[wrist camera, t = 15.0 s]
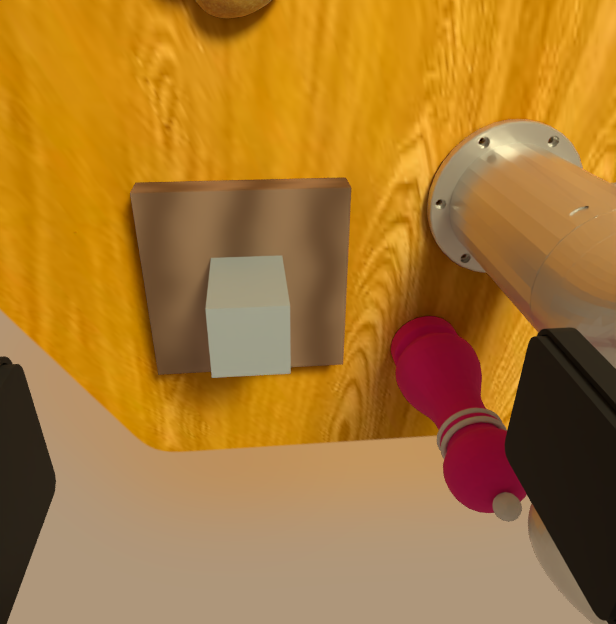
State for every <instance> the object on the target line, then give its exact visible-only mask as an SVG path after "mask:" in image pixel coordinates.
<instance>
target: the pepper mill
mask: <svg viewBox="0 0 616 624" xmlns="http://www.w3.org/2000/svg"><path fill="white" fill-rule="evenodd" d="M391 354H392V358H393V360H394V362H395V365H396V381H397V384H398V386H399V388H400V390H401V392H402V394H403V395H404V397H405V398H406V400H407V401H408V402H409V403H410V404H411V405H412V406H413V407H414V408H416V409H417V410H418V411H420V412H421V413H423V414H424V415H426V416H427V417H429V418H430V419H431V420H432V421H433V422H434V423H435V424H436V426H437V428H438V429H439V432H438V435H437V445H438V447H439V449H440V451H441V454H442V456H443V458H444V463H443V473H444V478H445V481H446V483H447V485H448V488H449V489H450V491H451V492H452V494H453V495H454V496H455V497H456V499H457V500H458V501H459V502H461V503H462V504H463V505H465V506H466V507H468V508H469V509H472V510H475V511H478V512H484V513H495V514H496V516H497V517H499V518H500V519H502V520H504V521H514V520H516V519H517V518H518V516H519V515H520V514H521V511H522V506H521V503H520V502H521V500H522V499H523V498H525V496H526V495H527V494H526V492H525V490H524V488H523V487H522V485H521V483H520V481H519V480H518V478H517V476H516V474H515V473H514V471H513V469H512V467H511V465H510V464H509V462H508V460H507V457H506V454H505V445H504V444H505V438H506V434H507V430H506V427H505V426H504V425H503V424H502V421H501V419H500V418H499V416H498V415H497V414H495V413H494V412H492V411H491V410H488V409H486V408H485V406H484V404H483V402H482V400H481V380H482V374H481V367H480V362H479V360H478V357H477V355H476V353H475V351H474V349H473V348H472V346H471V345H470V344H469V343H468V342H467V341H466V340H464V339H462V338H461V337H459V336H458V335H457V333H456V331H455V330H454V328H453V327H452V326H451V324H450V323H448V322H447V321H446V320H444V319H442V318H439V317H435V316H424V317H419V318H416V319H413V320H411V321H409V322H408V323H406V324H405V325H403V326H402V327H401V328H400V329H399V330H398V331H397V333H396V334H395V336H394V338H393V340H392V344H391Z"/></svg>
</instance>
